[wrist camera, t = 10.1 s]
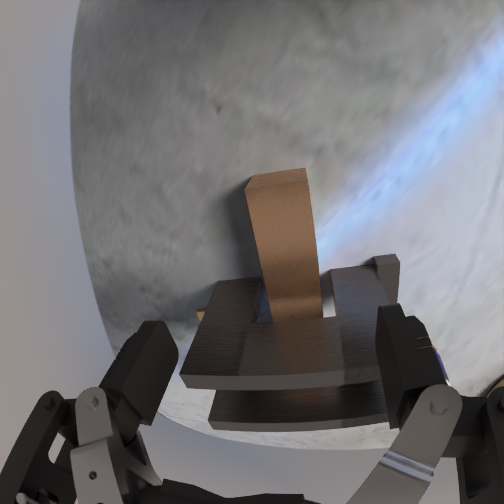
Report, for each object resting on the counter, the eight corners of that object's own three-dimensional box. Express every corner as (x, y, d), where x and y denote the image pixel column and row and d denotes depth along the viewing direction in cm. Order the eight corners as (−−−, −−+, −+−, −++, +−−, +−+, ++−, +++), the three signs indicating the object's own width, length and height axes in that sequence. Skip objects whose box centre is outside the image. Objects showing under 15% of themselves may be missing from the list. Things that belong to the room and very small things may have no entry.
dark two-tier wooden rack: (185, 277, 27) (135, 363, 17) (395, 253, 23) (442, 344, 13) (211, 345, 31) (182, 429, 21) (389, 330, 27) (412, 420, 17)
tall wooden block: (252, 175, 22) (243, 189, 18) (305, 167, 21) (308, 180, 17) (287, 353, 30) (285, 382, 26) (325, 350, 29) (326, 379, 25)
